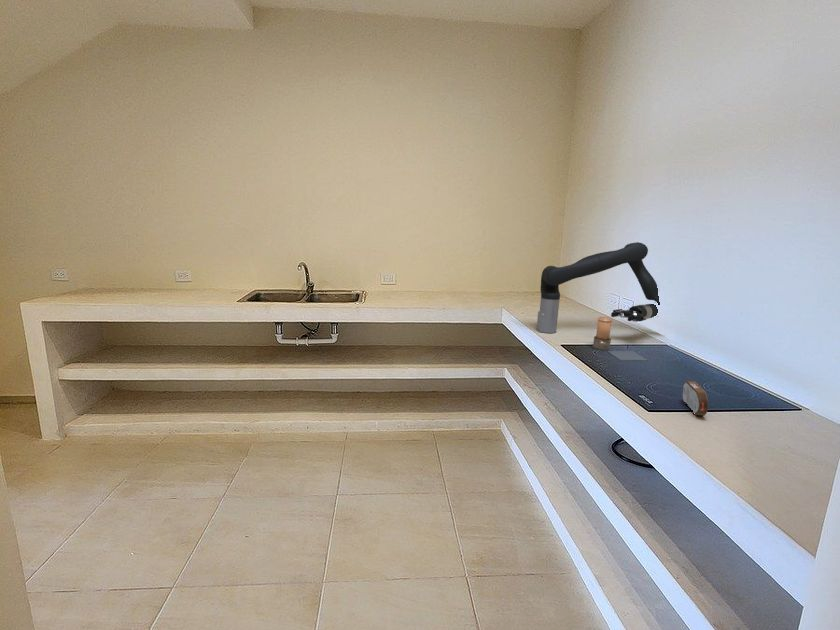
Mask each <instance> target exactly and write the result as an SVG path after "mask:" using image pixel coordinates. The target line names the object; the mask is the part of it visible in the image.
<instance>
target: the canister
mask: <svg viewBox="0 0 840 630" xmlns="http://www.w3.org/2000/svg"><path fill="white" fill-rule="evenodd" d="M611 341H612V338H610V337H609V340H600V339H596V335H594V336H593V343H592V348H593V349H594V350H596V351H597V350H598V351H604V352H605V351H610V349H611V343H612V342H611Z"/></svg>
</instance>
